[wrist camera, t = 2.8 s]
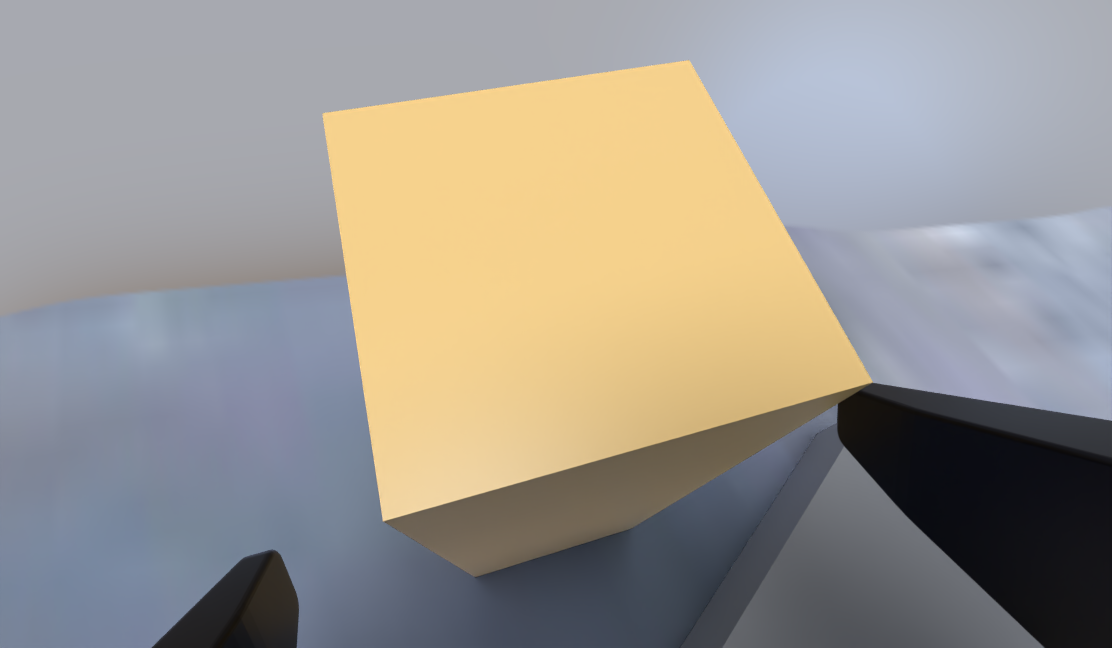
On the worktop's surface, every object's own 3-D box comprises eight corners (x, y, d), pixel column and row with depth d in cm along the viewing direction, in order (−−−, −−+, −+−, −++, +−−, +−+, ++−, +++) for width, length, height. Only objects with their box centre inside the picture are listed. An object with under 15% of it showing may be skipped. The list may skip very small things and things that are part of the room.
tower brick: (631, 528, 17) (873, 382, 6) (474, 577, 16) (383, 521, 5) (583, 383, 19) (689, 60, 8) (442, 419, 18) (322, 113, 7)
